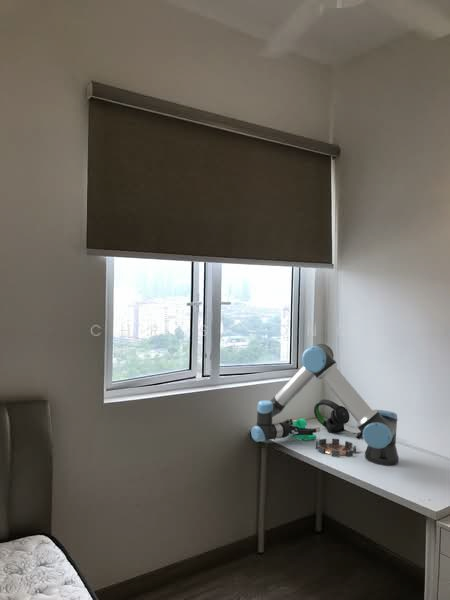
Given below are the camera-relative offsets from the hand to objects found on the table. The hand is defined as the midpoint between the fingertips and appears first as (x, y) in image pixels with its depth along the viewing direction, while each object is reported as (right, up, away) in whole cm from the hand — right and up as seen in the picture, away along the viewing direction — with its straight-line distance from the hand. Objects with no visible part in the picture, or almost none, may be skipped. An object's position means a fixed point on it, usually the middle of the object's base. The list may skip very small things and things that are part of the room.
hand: (310, 425), depth 255 cm
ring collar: (+9, -7, -19) cm, 22 cm away
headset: (+17, -7, +9) cm, 20 cm away
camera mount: (-4, -6, -2) cm, 8 cm away
